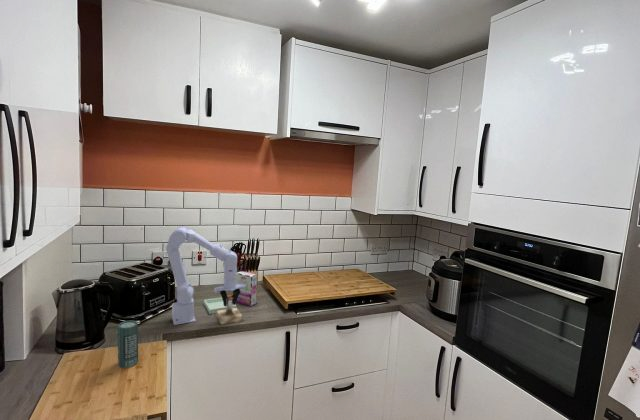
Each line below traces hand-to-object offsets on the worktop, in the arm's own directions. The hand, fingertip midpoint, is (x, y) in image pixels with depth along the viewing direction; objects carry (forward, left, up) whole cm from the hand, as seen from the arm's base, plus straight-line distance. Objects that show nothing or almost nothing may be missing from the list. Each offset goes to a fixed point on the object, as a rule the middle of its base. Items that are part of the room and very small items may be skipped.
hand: (229, 304), depth 165 cm
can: (-43, -22, -7) cm, 49 cm away
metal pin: (0, 0, -3) cm, 3 cm away
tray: (-1, +14, -7) cm, 16 cm away
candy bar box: (+13, +15, -7) cm, 21 cm away
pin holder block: (0, 0, -7) cm, 7 cm away
